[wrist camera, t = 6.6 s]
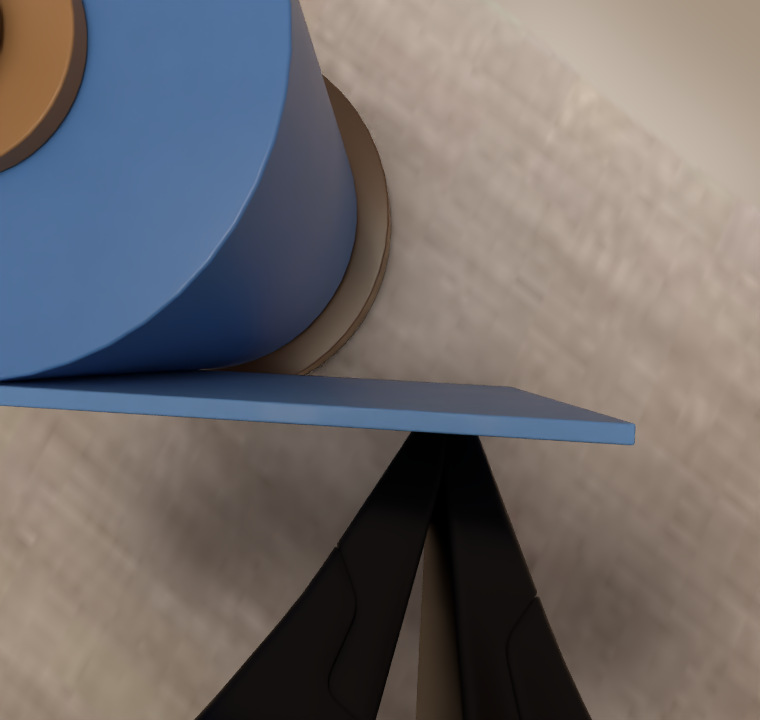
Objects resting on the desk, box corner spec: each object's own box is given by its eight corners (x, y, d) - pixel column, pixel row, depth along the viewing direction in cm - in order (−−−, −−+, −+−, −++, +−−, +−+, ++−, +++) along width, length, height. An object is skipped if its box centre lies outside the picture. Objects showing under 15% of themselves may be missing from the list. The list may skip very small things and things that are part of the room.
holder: (359, 421, 16) (354, 428, 15) (47, 363, 17) (12, 364, 15) (417, 89, 16) (418, 62, 14) (98, 45, 17) (68, 15, 15)
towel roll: (507, 395, 14) (710, 474, 5) (51, 369, 15) (-559, 390, 6) (525, 64, 14) (770, -556, 4) (65, 59, 15) (-532, -457, 5)
